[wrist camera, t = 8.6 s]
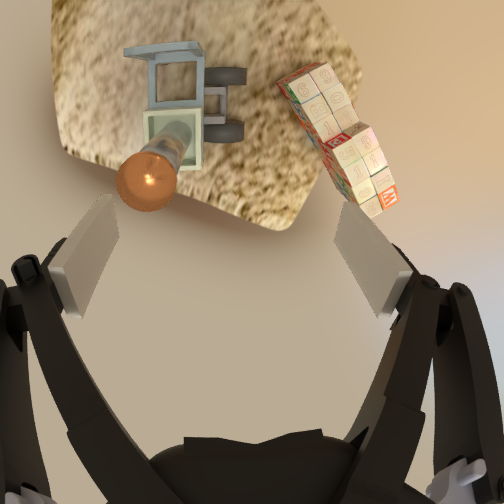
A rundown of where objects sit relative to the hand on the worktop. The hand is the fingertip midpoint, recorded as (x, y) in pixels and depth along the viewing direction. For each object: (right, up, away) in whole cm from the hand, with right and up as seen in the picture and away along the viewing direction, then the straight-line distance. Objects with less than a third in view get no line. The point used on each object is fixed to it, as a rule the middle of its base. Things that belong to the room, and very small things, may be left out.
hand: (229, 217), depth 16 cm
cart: (-6, +20, +22) cm, 31 cm away
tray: (-8, +13, +18) cm, 24 cm away
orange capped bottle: (-8, +13, +18) cm, 23 cm away
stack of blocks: (+13, +18, +26) cm, 34 cm away
